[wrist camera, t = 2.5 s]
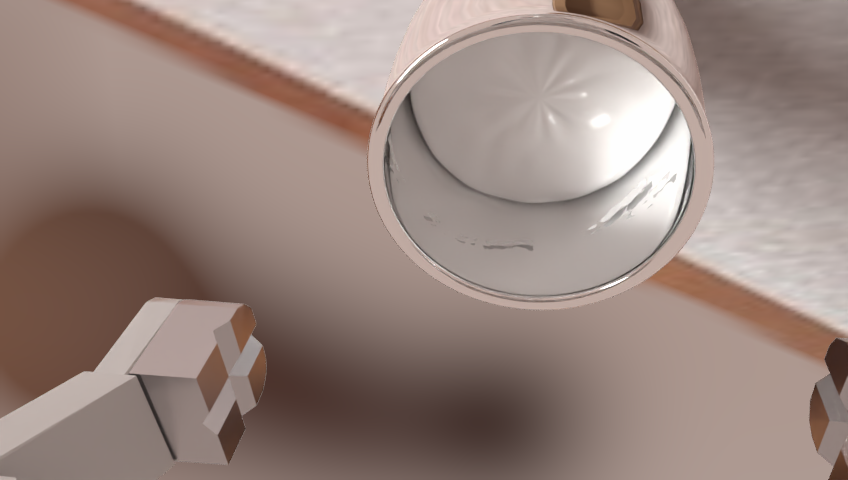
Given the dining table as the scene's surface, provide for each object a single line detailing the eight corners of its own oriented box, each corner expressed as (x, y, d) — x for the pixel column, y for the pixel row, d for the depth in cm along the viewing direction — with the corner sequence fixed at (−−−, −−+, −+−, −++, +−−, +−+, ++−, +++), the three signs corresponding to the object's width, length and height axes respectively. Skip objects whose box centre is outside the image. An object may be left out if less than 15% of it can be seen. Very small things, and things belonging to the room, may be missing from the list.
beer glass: (690, -90, 23) (817, 104, 11) (588, 86, 28) (603, 360, 16) (501, -178, 23) (429, -71, 11) (427, 15, 27) (316, 245, 15)
